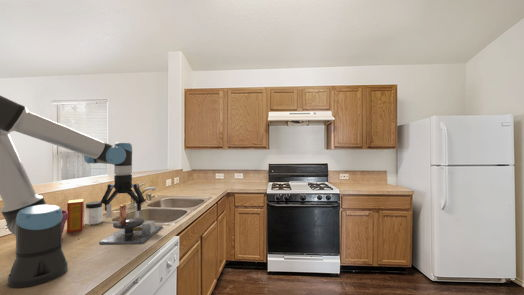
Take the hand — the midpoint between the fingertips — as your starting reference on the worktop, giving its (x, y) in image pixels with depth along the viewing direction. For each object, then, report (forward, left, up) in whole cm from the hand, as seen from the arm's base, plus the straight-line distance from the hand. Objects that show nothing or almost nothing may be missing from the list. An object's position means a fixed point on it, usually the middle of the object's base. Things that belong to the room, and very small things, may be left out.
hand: (123, 217), depth 117 cm
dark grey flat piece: (+6, -2, -10) cm, 12 cm away
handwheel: (+6, -2, -9) cm, 11 cm away
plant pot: (0, +35, -11) cm, 37 cm away
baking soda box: (+16, +34, -11) cm, 39 cm away
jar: (+28, +32, -11) cm, 44 cm away
